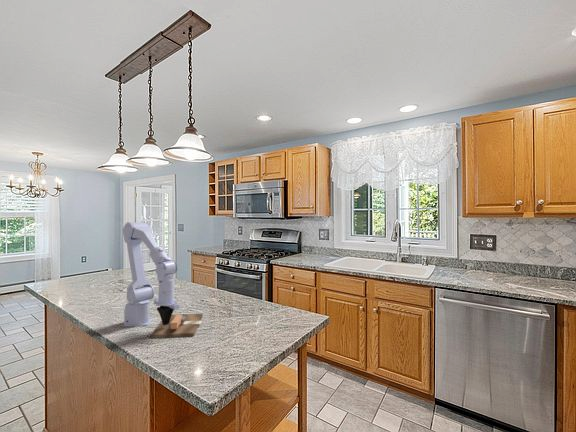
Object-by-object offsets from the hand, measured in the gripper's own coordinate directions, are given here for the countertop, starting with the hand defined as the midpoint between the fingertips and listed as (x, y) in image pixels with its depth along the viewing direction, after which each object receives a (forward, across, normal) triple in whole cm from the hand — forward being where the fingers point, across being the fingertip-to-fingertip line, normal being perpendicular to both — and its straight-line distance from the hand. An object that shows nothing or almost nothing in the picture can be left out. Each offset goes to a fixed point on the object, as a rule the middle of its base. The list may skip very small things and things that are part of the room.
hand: (165, 324), depth 114 cm
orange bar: (0, +2, +4) cm, 4 cm away
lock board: (+3, 0, +6) cm, 7 cm away
